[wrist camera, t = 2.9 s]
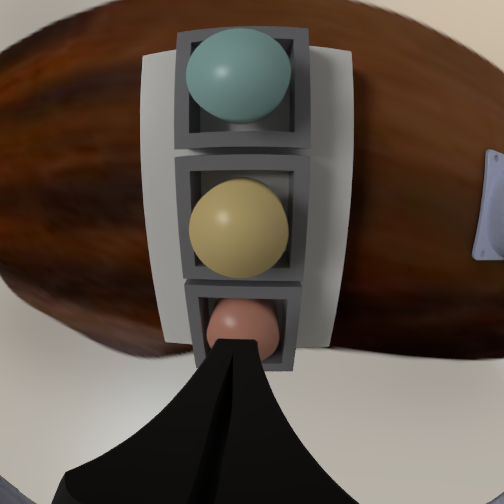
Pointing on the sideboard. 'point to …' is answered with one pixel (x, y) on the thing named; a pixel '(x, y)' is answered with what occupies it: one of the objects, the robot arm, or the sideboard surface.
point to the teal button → (239, 75)
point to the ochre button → (239, 228)
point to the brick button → (245, 323)
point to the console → (257, 167)
